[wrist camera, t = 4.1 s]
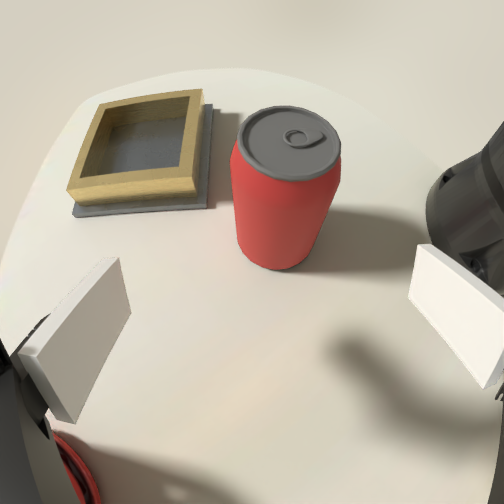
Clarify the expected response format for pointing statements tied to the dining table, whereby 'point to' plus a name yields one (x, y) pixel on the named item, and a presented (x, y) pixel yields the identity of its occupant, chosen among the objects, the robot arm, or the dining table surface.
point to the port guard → (144, 156)
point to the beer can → (283, 183)
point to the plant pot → (78, 474)
